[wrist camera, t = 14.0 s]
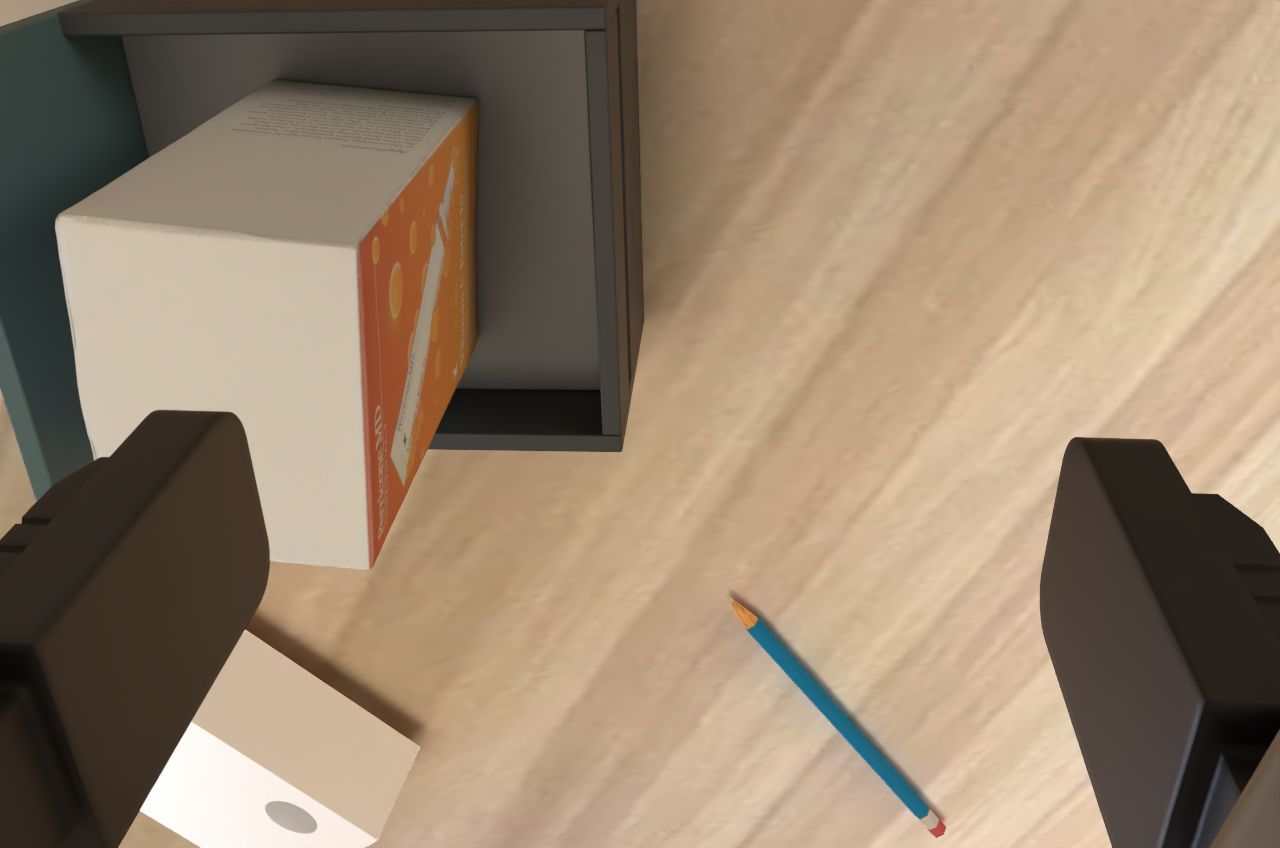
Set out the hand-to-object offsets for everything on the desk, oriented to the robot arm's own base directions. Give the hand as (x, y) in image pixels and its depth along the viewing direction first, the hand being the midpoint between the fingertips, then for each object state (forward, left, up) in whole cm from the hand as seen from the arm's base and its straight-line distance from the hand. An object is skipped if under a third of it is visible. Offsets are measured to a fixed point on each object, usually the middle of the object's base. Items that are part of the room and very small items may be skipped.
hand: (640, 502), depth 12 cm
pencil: (+31, +6, -32) cm, 45 cm away
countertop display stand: (+5, -10, -32) cm, 34 cm away
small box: (+5, -10, -25) cm, 27 cm away
